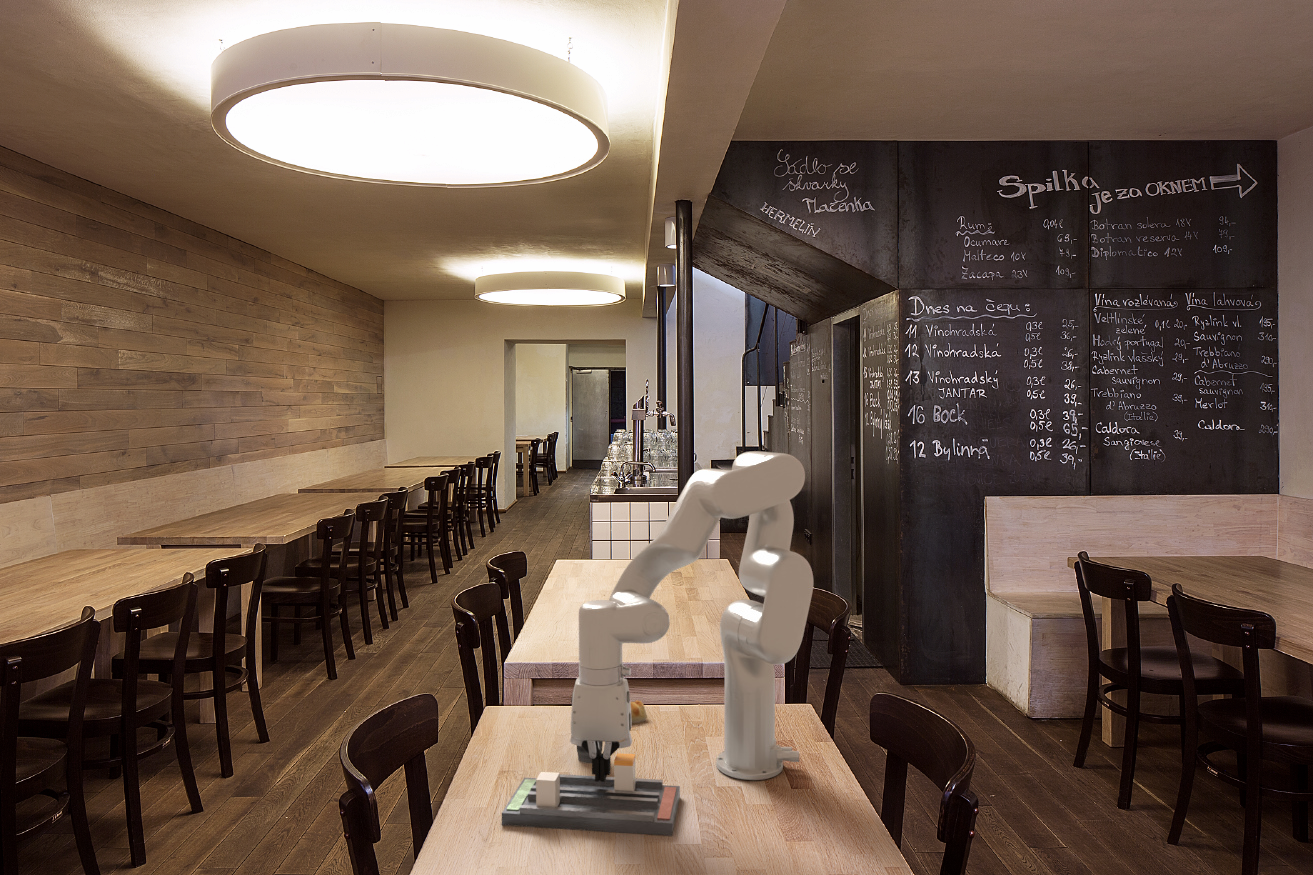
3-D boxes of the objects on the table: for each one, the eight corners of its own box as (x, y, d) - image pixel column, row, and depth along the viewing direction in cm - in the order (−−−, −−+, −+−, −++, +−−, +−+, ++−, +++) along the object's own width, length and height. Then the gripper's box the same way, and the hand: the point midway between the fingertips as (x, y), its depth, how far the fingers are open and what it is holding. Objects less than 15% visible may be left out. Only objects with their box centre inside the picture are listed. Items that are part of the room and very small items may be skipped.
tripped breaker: (635, 786, 141) (635, 754, 140) (632, 794, 138) (632, 761, 137) (617, 785, 141) (617, 753, 141) (614, 793, 138) (614, 760, 138)
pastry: (608, 728, 173) (608, 711, 173) (598, 718, 179) (598, 701, 179) (649, 722, 176) (649, 704, 176) (637, 712, 183) (637, 695, 183)
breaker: (559, 802, 135) (559, 772, 135) (555, 810, 132) (555, 780, 132) (541, 800, 135) (541, 771, 135) (536, 809, 133) (536, 779, 132)
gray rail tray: (679, 797, 141) (679, 780, 141) (672, 835, 128) (672, 816, 128) (524, 788, 145) (524, 771, 145) (501, 824, 132) (501, 806, 132)
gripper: (646, 668, 142) (647, 771, 143) (563, 665, 144) (564, 766, 144) (640, 682, 135) (640, 790, 135) (553, 678, 137) (553, 785, 137)
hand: (601, 778), depth 140 cm, fingers closed
